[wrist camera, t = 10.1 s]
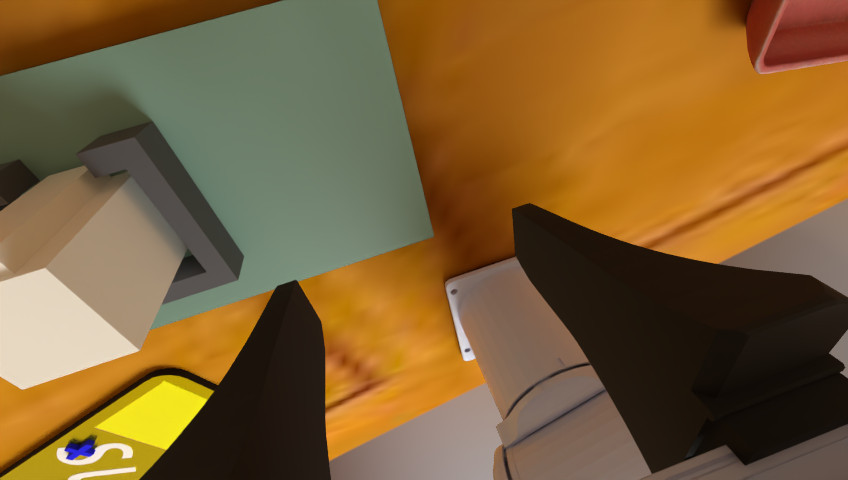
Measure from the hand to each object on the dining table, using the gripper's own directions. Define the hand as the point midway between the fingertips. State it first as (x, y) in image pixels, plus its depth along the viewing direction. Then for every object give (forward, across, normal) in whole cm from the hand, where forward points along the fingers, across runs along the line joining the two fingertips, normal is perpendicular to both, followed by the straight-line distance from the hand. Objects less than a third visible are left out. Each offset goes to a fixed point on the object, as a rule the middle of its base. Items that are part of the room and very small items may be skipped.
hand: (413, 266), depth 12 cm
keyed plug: (+8, +12, -1) cm, 15 cm away
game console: (+10, +24, +17) cm, 31 cm away
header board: (+9, +7, -1) cm, 12 cm away
